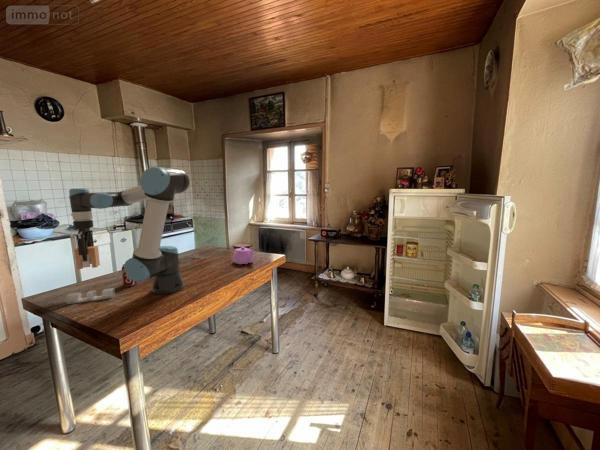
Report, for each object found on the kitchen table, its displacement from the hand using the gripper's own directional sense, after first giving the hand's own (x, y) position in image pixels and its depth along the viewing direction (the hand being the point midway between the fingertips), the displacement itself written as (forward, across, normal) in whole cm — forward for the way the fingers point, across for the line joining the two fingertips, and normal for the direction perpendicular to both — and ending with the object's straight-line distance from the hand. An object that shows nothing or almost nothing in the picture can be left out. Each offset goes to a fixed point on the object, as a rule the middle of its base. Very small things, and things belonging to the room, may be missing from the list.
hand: (88, 265), depth 130 cm
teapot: (+15, -22, +82) cm, 86 cm away
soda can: (+15, -5, +16) cm, 22 cm away
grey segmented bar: (+15, +10, +3) cm, 18 cm away
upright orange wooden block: (+1, 0, 0) cm, 1 cm away
